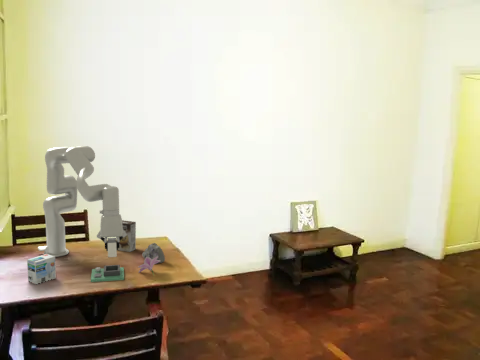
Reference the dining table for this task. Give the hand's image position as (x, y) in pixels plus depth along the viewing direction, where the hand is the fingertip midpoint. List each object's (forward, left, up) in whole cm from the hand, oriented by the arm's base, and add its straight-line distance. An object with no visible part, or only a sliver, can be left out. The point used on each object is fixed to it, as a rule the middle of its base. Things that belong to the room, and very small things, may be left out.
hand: (112, 249), depth 226 cm
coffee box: (+7, +39, -13) cm, 42 cm away
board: (-2, 0, -13) cm, 13 cm away
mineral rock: (+21, +19, -13) cm, 31 cm away
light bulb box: (-32, 0, -13) cm, 34 cm away
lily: (+18, 0, -13) cm, 22 cm away
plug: (0, 0, -3) cm, 3 cm away
